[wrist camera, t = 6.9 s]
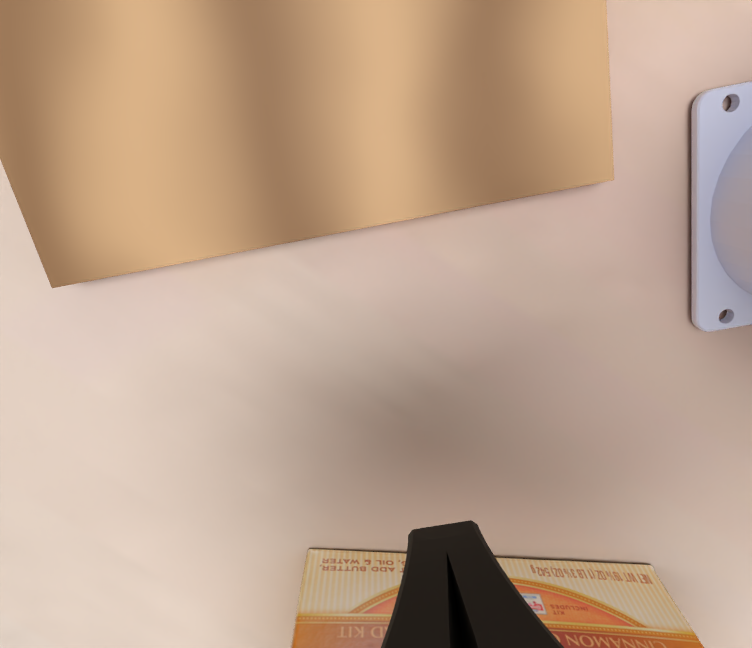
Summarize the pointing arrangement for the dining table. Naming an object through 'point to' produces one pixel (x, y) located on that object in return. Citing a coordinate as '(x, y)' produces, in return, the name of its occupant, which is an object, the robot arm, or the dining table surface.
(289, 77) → the teak plank
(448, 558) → the robot arm
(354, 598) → the coffeecake box
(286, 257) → the dining table surface
